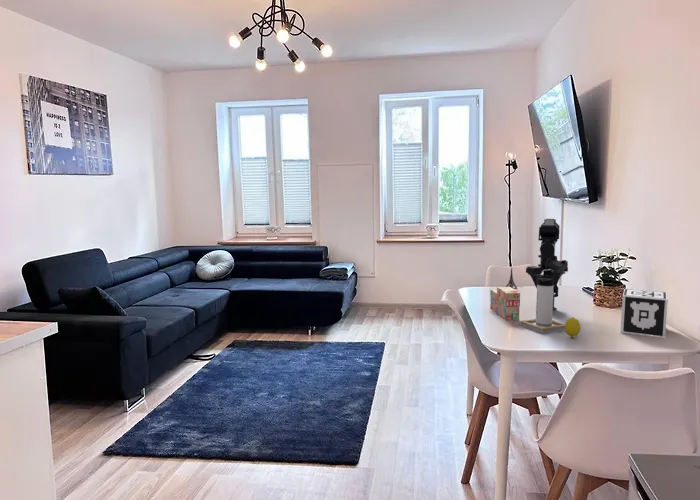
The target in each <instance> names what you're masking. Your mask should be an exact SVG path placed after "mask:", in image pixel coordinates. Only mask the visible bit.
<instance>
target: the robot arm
mask: <svg viewBox="0 0 700 500" xmlns="http://www.w3.org/2000/svg"><path fill="white" fill-rule="evenodd" d="M543 221H544V222H542V224H540V226H539V229H538V241H540V242H541V243H540V247H539V252H540V254H538V258H540V263H539V264H537V266H535V265H530V266H527V267H526V268H525V273H526V274H527V275H529V276H530V277H531V279H532V281H533V284H534V286H535V288H536V289H537V283H538V282H537V279H538V277H541V276H546V275H547V276H550V277H553V278H554V283H553V285H554V286H553V287H554V288H553V310H557V307H555V298H558V297H559V287H558V283H559V280H560V279H561V277H562V276H563V275H565V274H566V273H568V272H569V267H568V264H569V263H568V260H566V259H563V260H558V256H557V255H555V254H556V244H557V242H558V240H560V230H561V229H560V224H558V223H557V222H556V221H557V220H556V219H555V218H544V220H543ZM542 273H543V274H542Z"/></svg>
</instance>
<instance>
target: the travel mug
mask: <svg viewBox="0 0 700 500" xmlns="http://www.w3.org/2000/svg"><path fill="white" fill-rule="evenodd" d="M537 282H538V283H537V288H536V305H535V307H536V308H535V319H536V325H538V326H543V327H549V326H552V320H553V310H554V309H553V288H554V287H553V286H554V285H553V283H554V278H553V277H550V276H547V275H546V276H541V277H538V279H537Z"/></svg>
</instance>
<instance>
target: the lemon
mask: <svg viewBox="0 0 700 500" xmlns="http://www.w3.org/2000/svg"><path fill="white" fill-rule="evenodd" d="M564 324H565V330H564V332H565V334H566V335H568V336H569V337H570V338H571V339H572V338H573V339H574V338H575V337H577V336H578V335H579V334H580V333H581V323H580V321H579V320H578V319H577V318H575V317H570V318H568V319H567V320H566V321H565V323H564Z"/></svg>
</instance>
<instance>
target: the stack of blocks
mask: <svg viewBox="0 0 700 500" xmlns="http://www.w3.org/2000/svg"><path fill="white" fill-rule="evenodd" d="M513 288H514V287H513ZM513 288H511V287H501V286H497V287H496V289H495V288H493V289H490V291H489V293H490V294H489V295H490V299H489V300H490V301H489V303H490V306H489V307H490V309H491V310H492V311H493V312H494V313H496V314H497V315H499V316H500V317H501V318H502V319H503V320H505V321H518V320H520V306H521V292H520V291H518V289H513Z"/></svg>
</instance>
